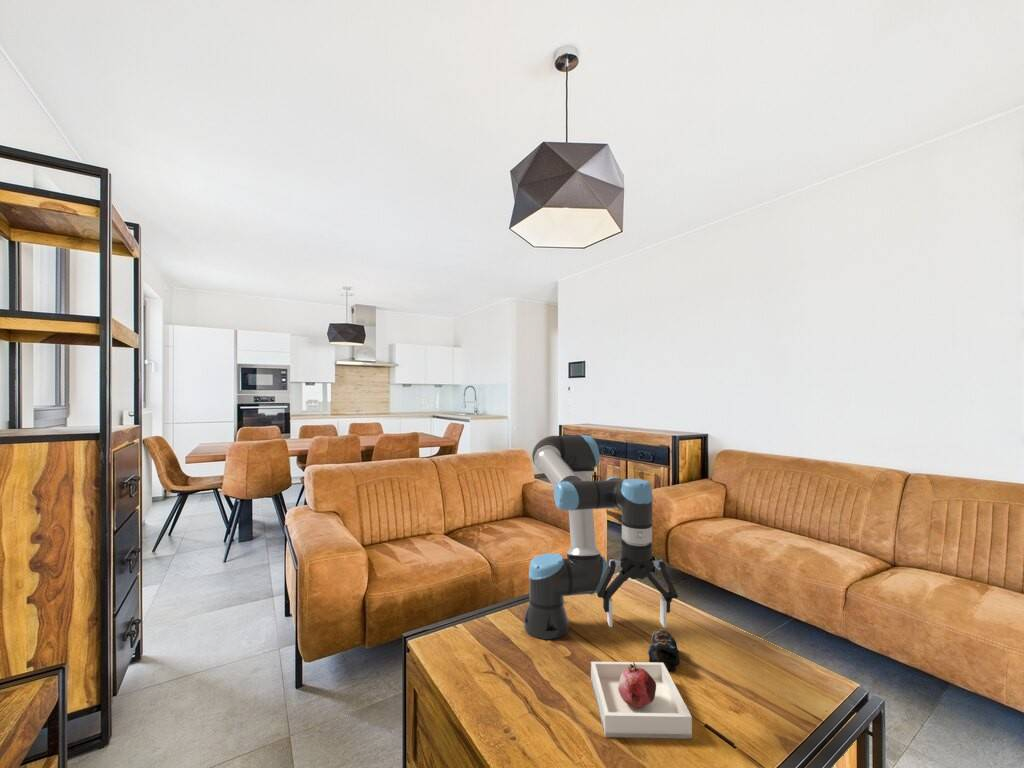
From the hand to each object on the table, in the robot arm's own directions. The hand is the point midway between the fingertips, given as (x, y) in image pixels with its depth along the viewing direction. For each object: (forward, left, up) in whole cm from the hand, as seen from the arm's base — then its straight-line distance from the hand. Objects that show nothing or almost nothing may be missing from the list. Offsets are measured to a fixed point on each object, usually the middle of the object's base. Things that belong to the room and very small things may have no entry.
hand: (636, 624), depth 111 cm
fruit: (0, 0, -20) cm, 20 cm away
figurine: (0, +24, -21) cm, 32 cm away
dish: (0, 0, -21) cm, 21 cm away
